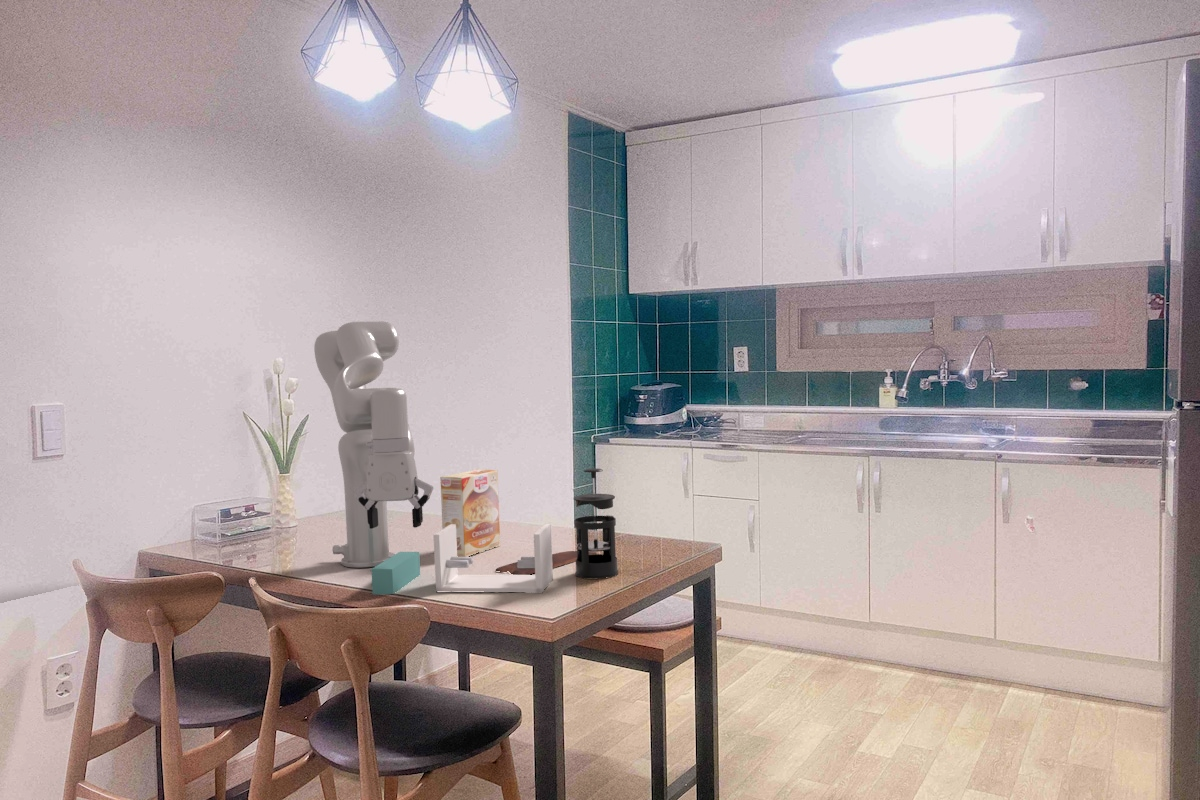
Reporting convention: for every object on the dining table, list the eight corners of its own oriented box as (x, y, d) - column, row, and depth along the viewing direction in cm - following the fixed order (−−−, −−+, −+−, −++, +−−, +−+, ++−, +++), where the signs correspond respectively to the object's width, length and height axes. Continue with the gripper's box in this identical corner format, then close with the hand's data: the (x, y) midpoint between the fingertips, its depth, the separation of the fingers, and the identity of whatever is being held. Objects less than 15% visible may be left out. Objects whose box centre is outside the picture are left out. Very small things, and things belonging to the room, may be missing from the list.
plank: (393, 595, 185) (392, 569, 185) (372, 595, 186) (371, 569, 185) (420, 576, 201) (419, 551, 200) (400, 576, 201) (399, 551, 201)
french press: (602, 582, 189) (598, 472, 188) (565, 577, 194) (561, 471, 193) (630, 569, 199) (626, 465, 198) (594, 565, 204) (590, 464, 203)
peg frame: (436, 592, 185) (433, 534, 184) (452, 579, 196) (450, 524, 195) (541, 593, 182) (539, 534, 181) (553, 579, 192) (550, 523, 192)
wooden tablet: (572, 545, 222) (602, 545, 215) (573, 554, 221) (603, 554, 215) (491, 568, 202) (521, 568, 195) (492, 578, 202) (523, 578, 195)
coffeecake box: (465, 558, 215) (462, 477, 214) (442, 556, 219) (438, 476, 218) (501, 546, 228) (498, 469, 227) (479, 544, 232) (476, 468, 231)
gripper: (345, 449, 189) (349, 531, 189) (423, 446, 186) (428, 529, 187) (359, 446, 196) (364, 525, 197) (436, 443, 194) (440, 523, 194)
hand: (395, 526), depth 192 cm, fingers open, 9 cm apart
